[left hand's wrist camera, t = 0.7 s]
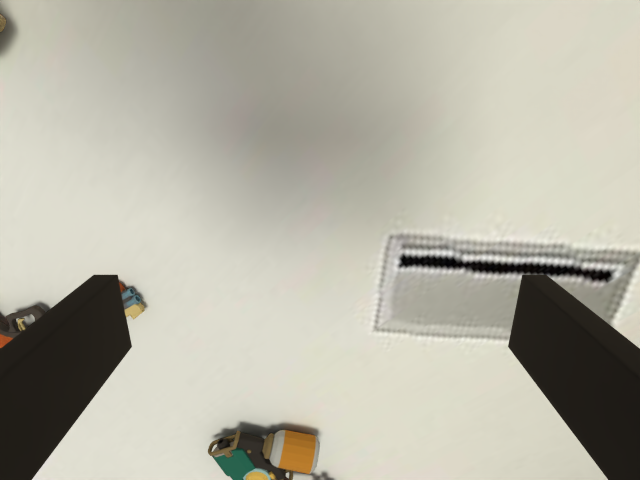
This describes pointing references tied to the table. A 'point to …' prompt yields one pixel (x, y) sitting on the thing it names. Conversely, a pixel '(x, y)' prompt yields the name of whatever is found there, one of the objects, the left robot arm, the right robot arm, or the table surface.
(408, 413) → the table surface
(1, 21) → the sculpture
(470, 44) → the table surface
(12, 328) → the toy gun
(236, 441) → the spray gun
